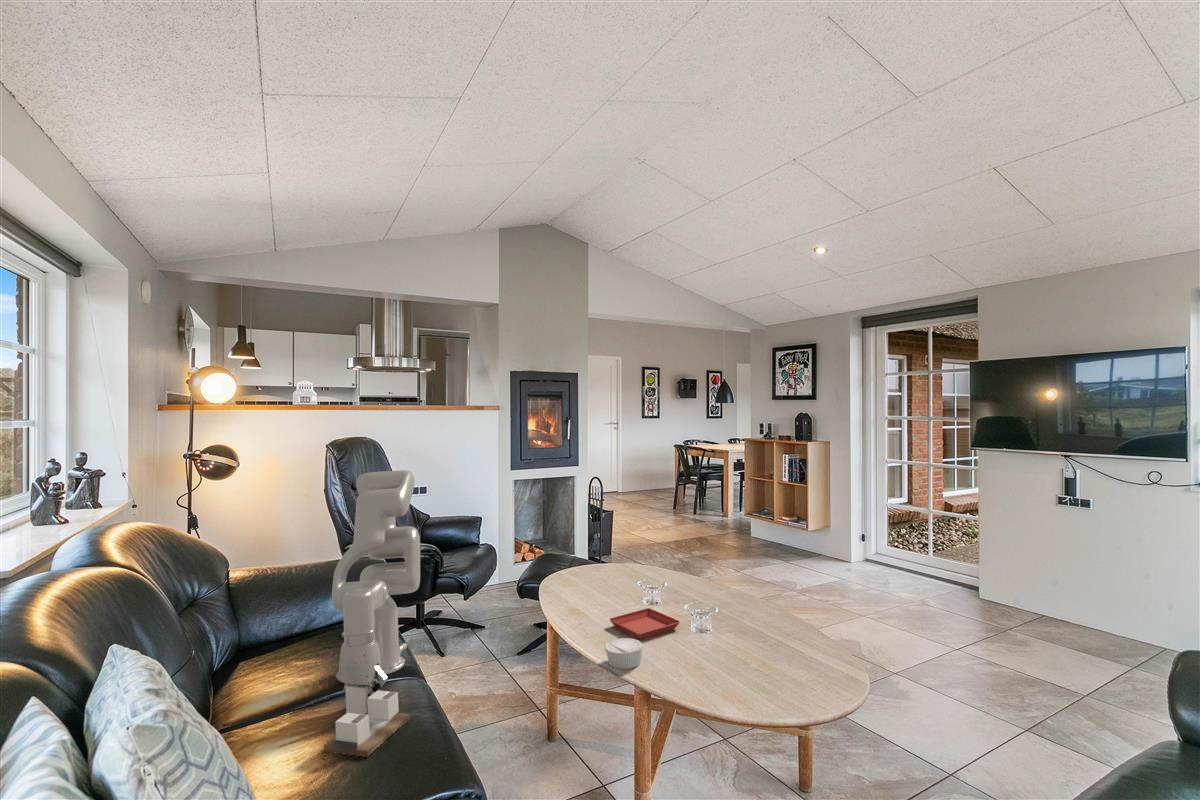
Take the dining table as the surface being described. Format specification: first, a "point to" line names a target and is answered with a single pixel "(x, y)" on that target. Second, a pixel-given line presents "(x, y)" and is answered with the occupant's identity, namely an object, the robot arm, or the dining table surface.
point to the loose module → (356, 698)
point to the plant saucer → (644, 623)
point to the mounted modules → (367, 717)
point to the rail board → (378, 735)
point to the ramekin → (624, 653)
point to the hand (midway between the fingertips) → (362, 705)
